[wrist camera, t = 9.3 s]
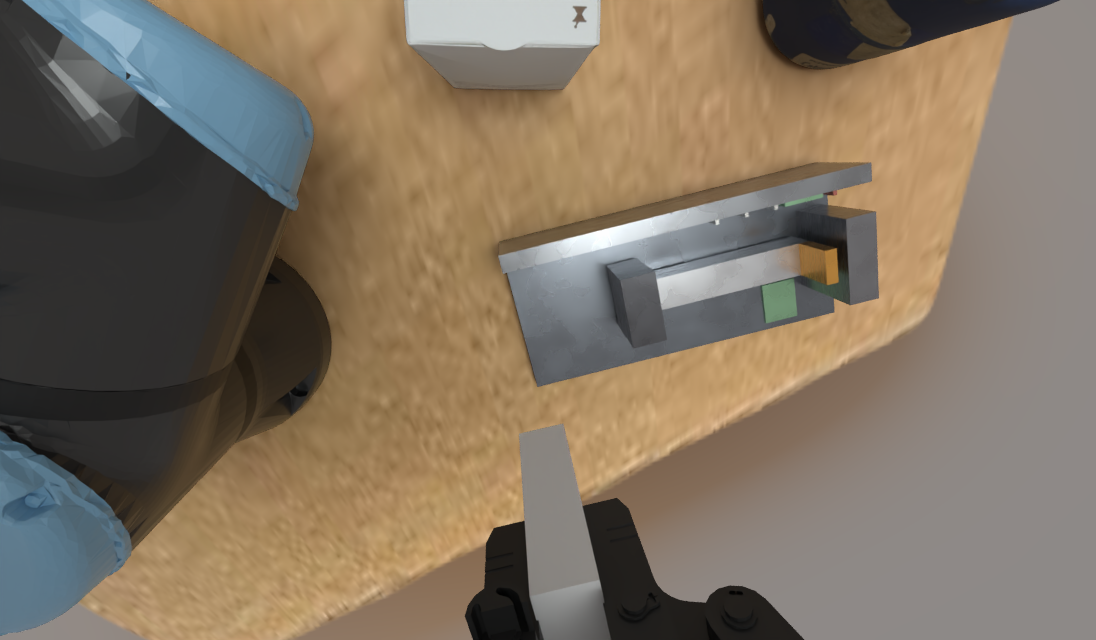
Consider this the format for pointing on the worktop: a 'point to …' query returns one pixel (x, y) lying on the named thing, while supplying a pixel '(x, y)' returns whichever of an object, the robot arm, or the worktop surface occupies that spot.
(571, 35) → the skincare box
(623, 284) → the capped sliding bar
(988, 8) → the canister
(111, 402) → the robot arm
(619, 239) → the rail
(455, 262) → the worktop surface
